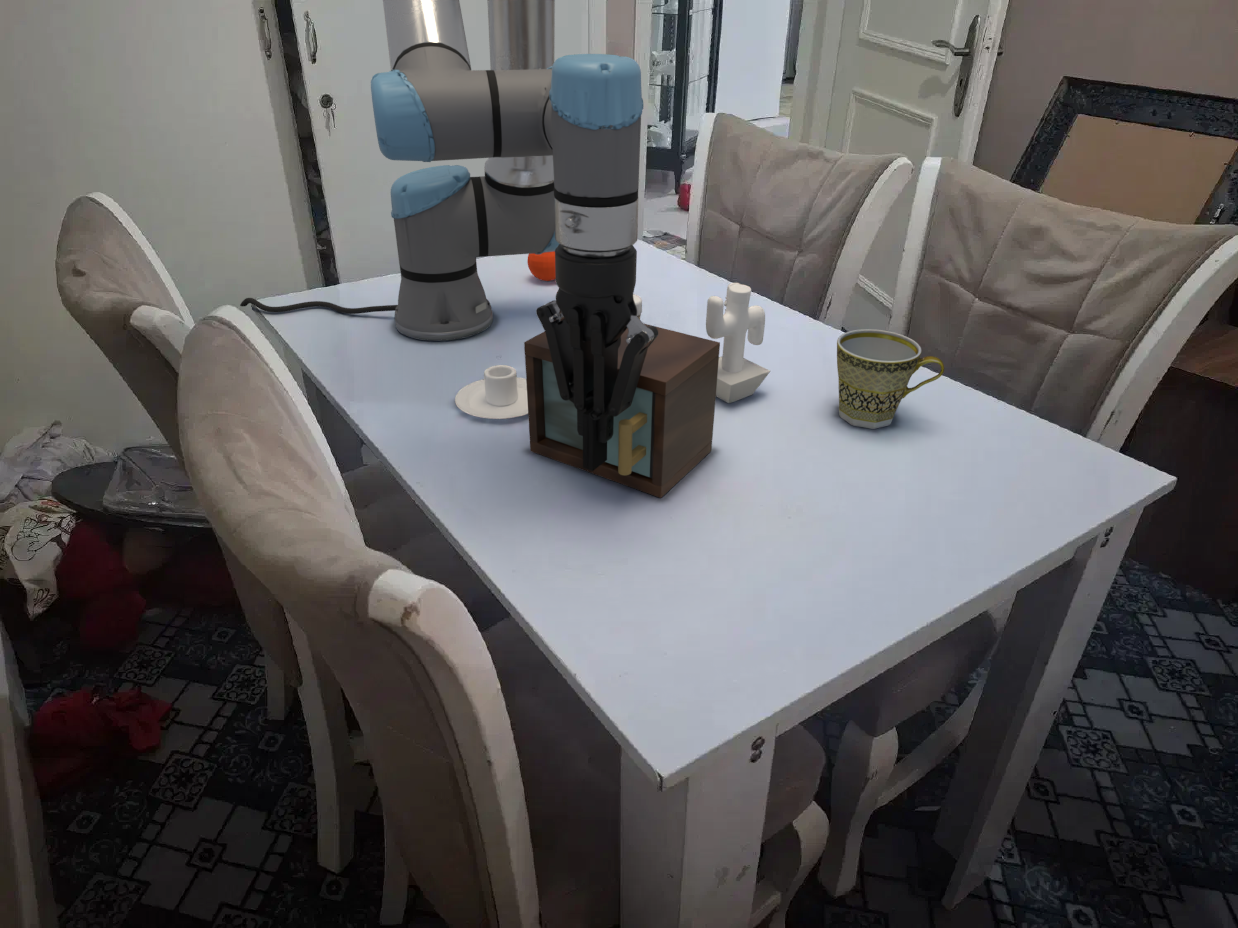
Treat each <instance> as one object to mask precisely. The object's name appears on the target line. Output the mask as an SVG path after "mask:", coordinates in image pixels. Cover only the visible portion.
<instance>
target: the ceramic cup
mask: <svg viewBox="0 0 1238 928" xmlns="http://www.w3.org/2000/svg"><path fill="white" fill-rule="evenodd" d="M922 352H923V351H922V347H921V345H920V344H919V343H918V342H917V341H915V340H914V339H912V338H911V337H908V336H906V335H903V334H902V333H897V332H894V331H890V330H884V329H875V328H874V329H873V328H865V329H864V328H862V329H861V328H860V329H854V330H849V331H847V332H844V333H841V334H840V335H839V337H837V340H836V367H837V368H836V369H837V376H838V417H839V418H841V419H842V420H844V422H846V423H848V424H849V425H851V426H854V427H858V428H865V429H871V430H875V429H878V428H883V427H887V426H890V425H891V424H892V423H893V420H894V417H895V415H896V412H897V409H898V408H899V406H900V404H901V402H902V400H903V399H905V398H906V397H907V396H908V395H909V394H911V393H913V392H914V391H916V390H918V389H920V388H921V387H923V386H925V385H926V384H930V383H932V382H935V381H936V380H938V379H940V378H941V377H942V376H943V374H944V373H945V364H944V362H943V360H942V359H941V358H939V357H937V356H933V355H927V356H923V357H921V355H922ZM931 363H933V364H938V365H939V366H940V371H939V373H938V374H936V375H934V376H933V377H930V378H927V379H925V380H923V381H921V382H919V383H918V384H916V385H915V386H913V387H908V384H909V382H910V379H911V378H912V376H913V375H914V374H915V373H916V372H917V371H918V370H919V369H920V368H921V367H922V366H924V365H926V364H931Z"/></svg>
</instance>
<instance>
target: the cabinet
mask: <svg viewBox="0 0 1238 928" xmlns="http://www.w3.org/2000/svg"><path fill="white" fill-rule="evenodd" d="M644 324H645V325H646V327H647V328H648V327H650V326H654V327H656V328H657V330H658V336H657V337H656V339H655V340H654V341H653V342H652V344H651V345H650V346H649V347H648V350H647V353H646V357H645V360H644V364H643V367H642V370H641V374H640V377H639V380H638V384H637V388H641V389H644V390H648V391H651V392H655V420H654V448H653V476H652V478H650V477H647V476H644V475H641V474H639V473H636V472H633V471H632V472H631V474H629V475H621V474H619V472H618V466H616V465H613V464H610V463H607V462H604V463H603V464H601V465H600V466H599V467H597V468H596V469H595V470H594V471H591V470H588V469H585V468H583V436H581V435H579V434H578V431H577V409H576V408H575V406H574V403H572V402H571V401H570V400H567V401H565V400H563V399H562V398H561V396H560V393H559V389H558V385H557V380H556V376H555V372H554V367H553V363H552V359H551V354H550V350H549V346H548V342H547V337H546V333H545V330H544V331H543V332H540V333H539V334H537V335H534V336H533V337H531V338H529V339H527V340H526V341H524V342H523V347H524V348H523V349H524V362H525V363H524V364H525V366H524V367H525V379H526V383H527V401H528V414H527V415H528V416H527V417H528V430H529V431H528V433H529V435H528V436H529V448H530V452H531V453H533V454H534V453H535V454H537V455H539V456H543V457H545V458H548V459H550V460H554V461H557V462H559V463H563V464H565V465H568V466H571V467H574V468H576V469H579V470H580V471H581V470H582V471H584V472H587V473H590V474H593V475H595V476H598V477H601V478H604V479H607V480H610V481H612V482H615V483H618V484H620V485H623V486H626V487H629V488H630V489H631V488H632V489H635V490H637V491H639V492H643V493H644V494H645V493H646V494H648V495H650V496H654V497H656V498H659V499H661V498H663V497H664V496H665V495H666V494H667V493H668V492H669V491H670V490H672V489H673V488H674V487H675V486H676V485H677V484H678V483H679V482H680V481H681V480H682V479H683V478H684V477H686V476H687V474H689V473H690V472H691V471H692V470H693V469H694V468H695V467H696V466H697V465H698V464H699V463H700V462H701V461H703V460H704V459H705V458H706V457H707V456H708V455H709V454H710V453H711V452H712V450H713V449H712V448H713V435H714V426H715V425H714V422H715V412H716V411H715V410H716V398H717V397H716V387H717V374H718V362H719V357H720V349H721V342H720V341H715V340H713V339H708V338H705V337H700V336H695V335H692V334H687V333H684V332H679V331H676V330H671V329H667V328H663V327H660V326H656V325H651V324H647V323H644ZM627 335H628V328H627V329H626V330H625V332H624V333H623V334H622V335H621V344H620V347H619V348H618V370H617V376H618V372H619V368H620V365H621V361H622V357H623V354H624V351H625V349H626V347H627V346H628V343H627V342H626V338H627ZM569 384H570V383H569Z"/></svg>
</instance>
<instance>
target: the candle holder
mask: <svg viewBox="0 0 1238 928" xmlns="http://www.w3.org/2000/svg"><path fill="white" fill-rule="evenodd" d="M454 403H455V405H456V407H457V408H458V409H459V410H460V411H462V412H463V413H465V414H468V415H470V416H473V417H476V418H482V419H489V420H490V419H492V420H508V419H513V418H518V417H522V416H526V415H528V401H527V383H526V378H523V377H518V376H517V369H516V368H514V367H513V366H510V365H506V364H497V365H492V366H489V367H487V368H486V369H485V370H484V372H483V379H479V380H476V381H473V382H470V383H468V384H467V385H465V386H463V387H462V388H460V389H459V391H457V392H456V395H455V397H454Z"/></svg>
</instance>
